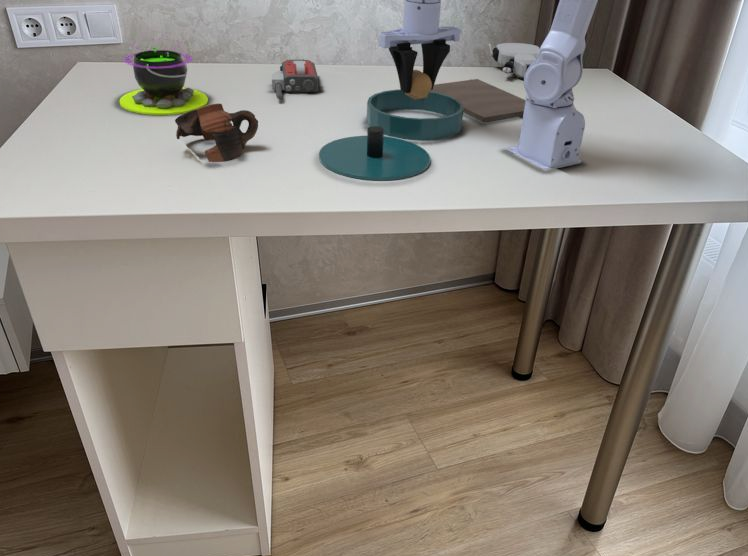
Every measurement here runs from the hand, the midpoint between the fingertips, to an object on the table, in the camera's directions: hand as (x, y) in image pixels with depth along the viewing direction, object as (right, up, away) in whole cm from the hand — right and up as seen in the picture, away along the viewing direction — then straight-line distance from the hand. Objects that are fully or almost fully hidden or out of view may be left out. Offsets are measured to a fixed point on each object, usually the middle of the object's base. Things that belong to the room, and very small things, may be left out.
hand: (416, 89), depth 116 cm
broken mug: (-30, -14, -11) cm, 35 cm away
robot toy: (+23, +17, +36) cm, 46 cm away
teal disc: (-7, -14, -11) cm, 19 cm away
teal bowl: (0, -5, +4) cm, 6 cm away
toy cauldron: (-45, 0, +7) cm, 45 cm away
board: (+12, +4, +16) cm, 21 cm away
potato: (0, -1, +1) cm, 1 cm away
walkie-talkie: (-23, +6, +17) cm, 29 cm away
